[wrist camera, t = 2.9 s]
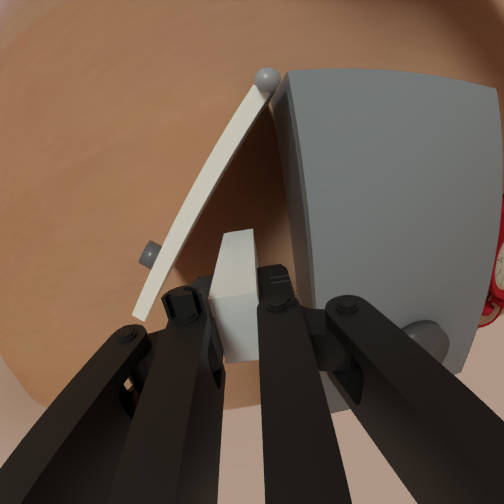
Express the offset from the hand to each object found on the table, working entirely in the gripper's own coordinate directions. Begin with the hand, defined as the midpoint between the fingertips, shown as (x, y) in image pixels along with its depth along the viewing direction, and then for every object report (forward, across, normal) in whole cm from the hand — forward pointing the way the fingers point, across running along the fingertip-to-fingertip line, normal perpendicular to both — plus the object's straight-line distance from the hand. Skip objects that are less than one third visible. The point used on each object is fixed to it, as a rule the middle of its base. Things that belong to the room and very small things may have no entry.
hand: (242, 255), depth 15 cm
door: (+6, -2, +4) cm, 7 cm away
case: (+7, +9, -2) cm, 11 cm away
